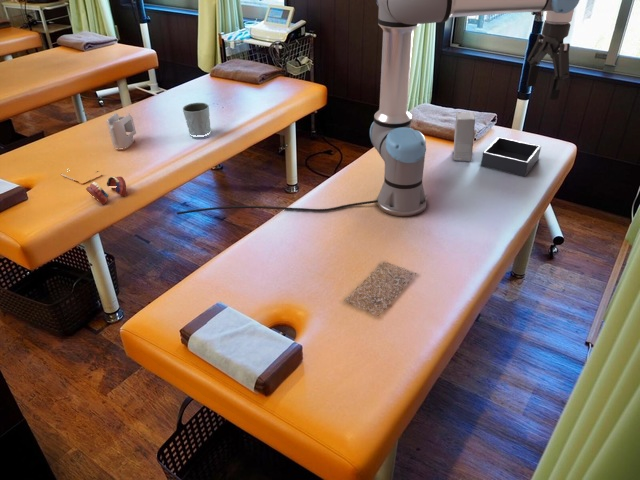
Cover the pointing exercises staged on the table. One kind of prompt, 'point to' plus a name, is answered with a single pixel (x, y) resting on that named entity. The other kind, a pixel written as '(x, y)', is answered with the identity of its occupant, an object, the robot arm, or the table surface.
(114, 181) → the teeth model
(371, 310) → the rug
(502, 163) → the box
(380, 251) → the table surface
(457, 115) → the cosmetic box
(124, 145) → the cable organizer
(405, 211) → the robot arm
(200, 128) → the drinking glass
